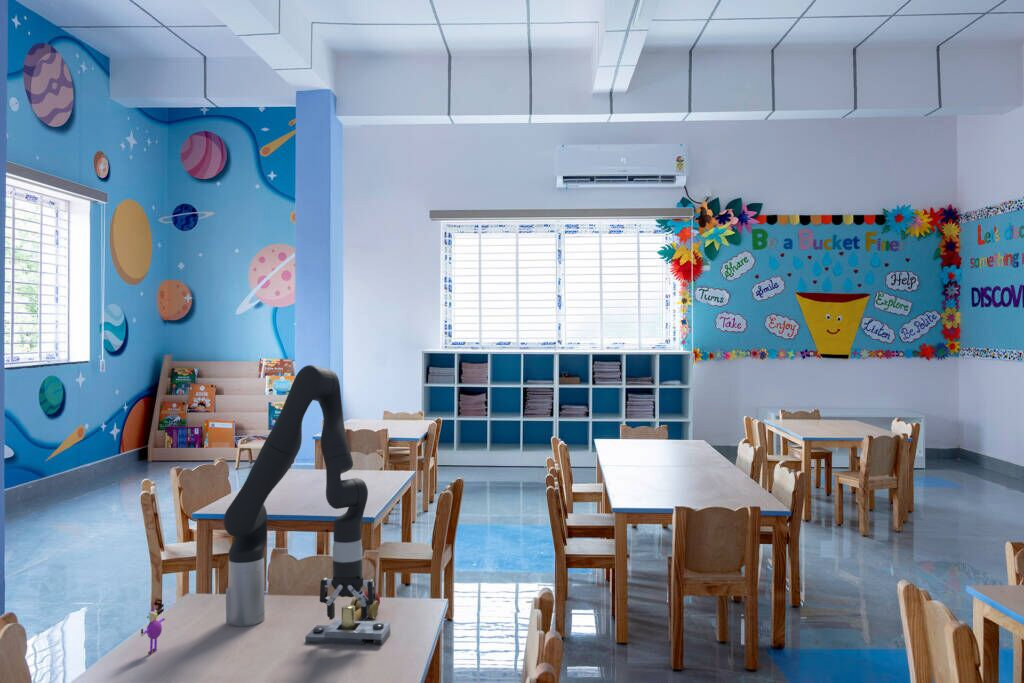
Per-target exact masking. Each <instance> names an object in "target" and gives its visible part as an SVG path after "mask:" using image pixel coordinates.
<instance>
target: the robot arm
mask: <svg viewBox="0 0 1024 683" xmlns="http://www.w3.org/2000/svg"><path fill="white" fill-rule="evenodd" d="M313 401H314V402H315V401H316V402H317V403H318V404H319V406H320V409H321V413H322V416H323V417H322V418H323V422H322V423H323V424H322V428H321V429H322V430H321V434H320V449H321V453H322V457H323V462H324V464H325V472H326V475H325V477H326V478H325V480H326V484H325V496H326V501H327V503H328V505H329V506H330V507H332V508H333V509H335V510H338V509H346V508H347V510H346V512H345V513H343V514H342V515H341V514H340V516H337V517H335V519H334V520H333V543H332V578H328V576H325V577H324V578H322V579H321V580H320V584H319V586H320V587H319V602H320V603H321V604H322V603H323V604H326V616H327V618H329V619H328V620H333V619H335V615H336V614H335V613H336V612H335V611H336V610H335V609H336V608H335V606H336V604H335V600H336V599H337V598H338V597H339V596H340V598H345V597H347V598H354V597H355V598H356V599H357V600H358V601H359V602H360V603H361V605H362V607H361V618H360V621H367V620H366V619H368V618H369V617H368V615H369V612H368V606H369V605H372V604H373V603H374V602H375V601H376V593H377V592H376V581H375V580H376V579H374V578H371V579H366V580H365V579H364V577H363V556H364V553H363V545H362V521H363V517H364V513H365V509H366V506H367V501H368V496H369V490H368V486H367V483H366V482H365V481H364V479H361V478H358V477H356V478H355V477H354V478H350V479H343V480H342V478H341V475H342V474H344V473H347V472H348V471H350V470H351V469H352V468H353V467H354V460H353V456H352V453H351V449H350V445H349V442H348V438H347V434H346V433H347V432H346V429H345V422H344V421H345V420H344V412H343V404H342V392H341V384H340V379H339V377H338V374H337V373H336V372H334V371H333V369H332V370H331V369H330V368H326V367H321V366H318V365H313V364H308V365H305V366H304V367H302V368H301V369H299V371H298V372H297V374H296V375H295V378H294V379H293V381H292V384H291V386H290V389H289V392H288V394H287V396H286V399H285V401H284V404H283V406H282V409H281V410H280V413H279V414H278V416H277V419H276V420H275V422H274V425H273V427H272V428H271V430H270V432H269V434H268V435H267V437H266V439H265V441H264V443H263V445H262V446H261V448H260V451H259V452H258V454H257V457H256V459H255V460H254V463H253V465H252V466H251V469H250V471H249V473H248V475H247V477H246V479H245V482H244V484H243V485H242V487H241V489H239V492H237V495H236V496H235V498H234V499H233V500H232V502H231V503H230V504H229V506H228V507H227V509H226V511H225V513H224V517H223V527H224V529H225V532H227V534H228V535H230V536H231V537H234V538H233V542H232V543H231V546H230V548H229V550H228V587H226V588H225V624H228V625H231V626H234V627H248V626H254V625H257V624H259V623H261V622H263V621H265V619H266V618H265V615H266V614H265V612H266V610H265V608H266V607H265V549H266V545H267V540H268V539H267V538H268V537H267V536H268V512H267V508H266V506H265V502H266V500H267V499H268V497H269V495H270V494H271V492H272V491H273V490H274V489H275V488H276V486H277V485H279V483H280V481H281V480H282V479H283V478H284V477H285V476H286V474H287V472H288V471H289V470H290V468H291V467H292V464H294V462H295V459H296V457H297V456H298V454H299V452H300V450H301V447H302V440H303V439H302V438H303V437H302V436H303V433H302V432H303V431H302V428H303V420H304V416H305V415H306V413H307V410H308V409H309V407H310V405H311V403H312V402H313ZM330 586H332V587H333V589H334V591H333V592H332V594H331V595H330V597H329V596H328V591H329V587H330ZM363 586H365V589H366V590H367V591H368V598H367V597H366V596H365V593H364V592H365V591H364V590H363V589H362V588H363ZM375 592H376V593H375Z"/></svg>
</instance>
